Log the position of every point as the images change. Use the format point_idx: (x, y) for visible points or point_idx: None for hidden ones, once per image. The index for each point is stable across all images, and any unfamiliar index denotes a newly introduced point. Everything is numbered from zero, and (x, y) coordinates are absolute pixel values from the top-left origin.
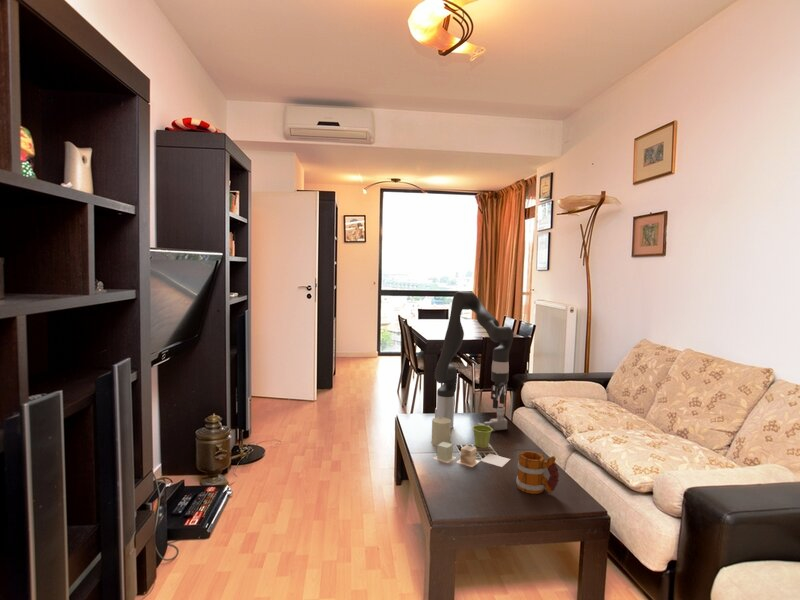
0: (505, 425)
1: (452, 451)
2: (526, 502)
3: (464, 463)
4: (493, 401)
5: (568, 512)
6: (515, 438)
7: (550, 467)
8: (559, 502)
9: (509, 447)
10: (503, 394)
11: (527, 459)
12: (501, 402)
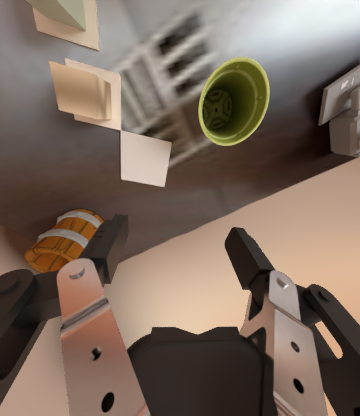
0: (340, 151)
1: (73, 18)
2: (40, 224)
3: None
4: (82, 254)
5: None
6: (275, 178)
7: None
8: None
9: (224, 175)
10: (255, 298)
11: (27, 261)
12: (232, 239)
